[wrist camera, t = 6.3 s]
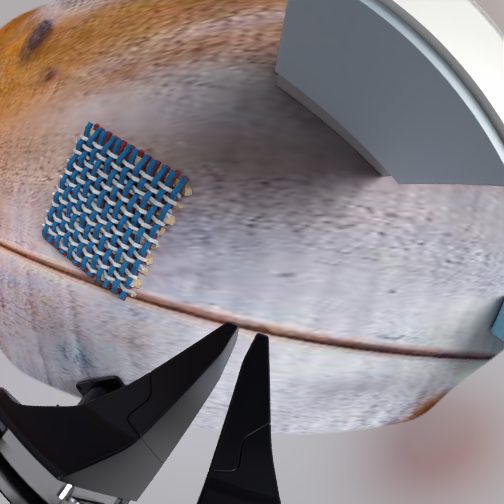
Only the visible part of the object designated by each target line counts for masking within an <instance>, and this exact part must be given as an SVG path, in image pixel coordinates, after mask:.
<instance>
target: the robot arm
mask: <svg viewBox="0 0 504 504" xmlns="http://www.w3.org/2000/svg"><path fill="white" fill-rule="evenodd" d="M238 330H239V326H238V325H237V324H234V323H231V322H226V323H225V324H223V325H222V326H220V327H219V328H217V329H216V330H214V331H213V332H211V333H210V334H208V335H207V336H205V337H204V338H202V339H201V340H199V341H198V342H196V343H195V344H193V345H192V346H190V347H189V348H187V349H186V350H184V351H182V352H181V353H179V354H178V355H176V356H175V357H173V358H172V359H170V360H168V361H167V362H165V363H164V364H162V365H161V366H159V367H157V368H156V369H154V370H153V371H151V373H150V372H149V373H148V374H146V375H144V376H143V377H141V378H139V379H138V380H136V381H134V382H132V383H131V384H129V385H127V386H125V385H124V383H123V382H122V380H121V379H120V378H119V377H117V376H113V377H107V378H102V379H96V380H90V381H83V382H78V383H77V384H76V388H77V389H78V391H79V392H80V393H81V395H82V396H83V398H82V399H81V401H80V402H79V403H78V405H77V406H59V405H57V406H27V405H22V404H20V402H18V401H17V400H16V399H15V398H14V397H13V396H12V395H11V394H10V393H9V392H8V391H7V390H6V389H4V388H2V387H0V492H1V493H2V494H3V496H4V497H5V498H6V499H7V500H8V501H9V502H10V504H128V503H129V501H130V500H132V501H137V500H138V498H139V497H140V496H141V494H142V493H143V492H144V490H145V489H146V487H147V486H148V485H149V483H150V482H151V481H152V479H153V478H154V476H155V475H156V474H157V472H158V471H159V469H160V468H161V467H162V465H163V463H164V462H165V461H166V459H167V458H168V456H169V455H170V453H171V452H172V451H173V449H174V448H175V446H176V445H177V443H178V442H179V440H180V439H181V437H182V436H183V434H184V433H185V432H186V430H187V428H188V427H189V426H190V424H191V423H192V421H193V419H194V418H195V416H196V415H197V413H198V412H199V410H200V409H201V407H202V406H203V404H204V403H205V401H206V400H207V398H208V396H209V395H210V393H211V392H212V390H213V389H214V387H215V386H216V384H217V382H218V380H219V379H220V377H221V375H222V373H223V370H224V368H225V366H226V364H227V362H228V359H229V357H230V355H231V353H232V350H233V348H234V346H235V343H236V340H237V335H238ZM116 381H117V382H116ZM270 423H271V412H270V365H269V337H268V336H267V335H264V334H261V333H257V334H256V336H255V338H254V340H253V342H252V344H251V346H250V348H249V350H248V352H247V354H246V356H245V358H244V360H243V362H242V365H241V369H240V372H239V375H238V379H237V382H236V385H235V389H234V392H233V395H232V398H231V402H230V405H229V408H228V411H227V415H226V418H225V421H224V424H223V427H222V431H221V434H220V437H219V440H218V443H217V446H216V450H215V453H214V456H213V459H212V462H211V465H210V468H209V472H208V474H207V477H206V480H205V483H204V486H203V489H202V491H201V494H200V496H199V499H198V502H197V504H281V501H280V497H279V492H278V486H277V480H276V475H275V469H274V463H273V455H272V444H271V425H270Z"/></svg>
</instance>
